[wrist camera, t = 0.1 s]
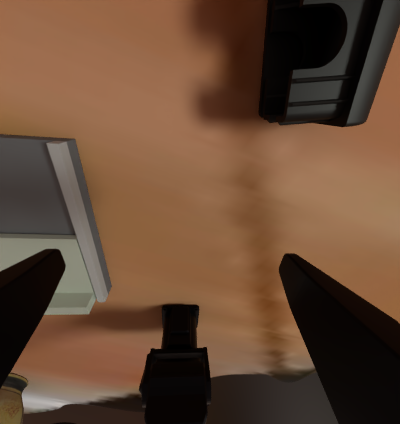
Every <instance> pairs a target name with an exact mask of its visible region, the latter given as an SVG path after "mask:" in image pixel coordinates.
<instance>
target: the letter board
mask: <svg viewBox="0 0 400 424" xmlns="http://www.w3.org/2000/svg"><path fill="white" fill-rule="evenodd" d="M0 234H44V235H76V236H77V239H78V242H79V245H80V248H81V252H82V255H83V258H84V261H85V264H86V267H87V270H88V273H89V276H90V279H91V282H92V285H93V289H94V292H95V295H96V298H97V301H98V302H105V301H106V299H107V296H108V294H109V291H110V289H111V287H112V286H111V282H110V278H109V274H108V270H107V266H106V262H105V258H104V254H103V250H102V246H101V241H100V237H99V233H98V229H97V225H96V221H95V217H94V213H93V209H92V205H91V201H90V197H89V193H88V189H87V185H86V181H85V177H84V173H83V169H82V165H81V161H80V157H79V153H78V149H77V145H76V141H75V139H67V138H51V137H35V136H19V135H3V134H0Z"/></svg>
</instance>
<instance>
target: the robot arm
mask: <svg viewBox="0 0 400 424" xmlns="http://www.w3.org/2000/svg"><path fill="white" fill-rule="evenodd" d="M65 268H66V264H65V261H64V259H63V256H62V254H61V251H60V250H59V249H44V250H42V251H40V252H38V253H36V254H34V255H32V256H30V257H28V258H26V259H24V260H22V261H20V262H18V263H16V264H14V265H12V266H10V267H8V268H6V269H4V270H2V271H0V389H1V387H2V386H3V384H4V382H5V380H6V379H7V377H8V375H9V374H10V372H11V370H12V368H13V367H14V365H15V363H16V362H17V360H18V358H19V356H20V355H21V353H22V351H23V350H24V348H25V346H26V344H27V343H28V341H29V339H30V338H31V336H32V334H33V332H34V331H35V329H36V327H37V326H38V324H39V322H40V320H41V319H42V317H43V315H44V313H45V312H46V310H47V308H48V306H49V304H50V302H51V300H52V298H53V295H54V293H55V291H56V289H57V287H58V285H59V282H60V280H61V278H62V276H63V274H64V272H65ZM279 274H280V277H281V280H282V284H283V287H284V290H285V293H286V297H287V300H288V303H289V306H290V309H291V311H292V314H293V316H294V319H295V321H296V323H297V326H298V328H299V330H300V333H301V335H302V338H303V340H304V342H305V345H306V347H307V350H308V352H309V354H310V357H311V359H312V361H313V364H314V366H315V369H316V371H317V373H318V376H319V378H320V381H321V383H322V385H323V388H324V390H325V392H326V395H327V397H328V400H329V402H330V404H331V407H332V409H333V411H334V414H335V416H336V419H337V421H338V423H339V424H400V324H399V323H398V321H396V320H395V319H393V318H392V317H390V316H389V315H387V314H386V313H384V312H383V311H381V310H380V309H378V308H377V307H375V306H374V305H372V304H371V303H369V302H367V301H366V300H364V299H363V298H361V297H360V296H358V295H357V294H355V293H354V292H352V291H351V290H349V289H348V288H346V287H345V286H343V285H342V284H340V283H339V282H337V281H336V280H334V279H333V278H331V277H330V276H328V275H327V274H325V273H324V272H322V271H321V270H319V269H318V268H316V267H315V266H313V265H312V264H310V263H309V262H307V261H306V260H304V259H303V258H301V257H300V256H298V255H297V254H293V253H286V254H285V255H284V256H283V259H282V261H281V264H280V266H279ZM198 316H199V306H197V305H195V306H163V307H162V322H163V337H162V346H161V349H155V348H152V349H151V351H150V353H149V354H148V355H147V359H146V365H145V369H144V373H143V376H142V379H141V383H140V386H139V391H140V393H141V395H142V407H146V408H145V417H144V418H145V424H205V423H206V418H207V404H210V403H211V380H210V370H209V362H208V353H207V347H203V348H197V331H196V328H197V325H198Z"/></svg>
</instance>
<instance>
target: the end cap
mask: <svg viewBox="0 0 400 424" xmlns="http://www.w3.org/2000/svg"><path fill="white" fill-rule="evenodd" d="M399 25H400V0H268V4H267V16H266V28H265V40H264V53H263V65H262V77H261V89H260V101H259V116H260V117H262V118H264V120H267V121H268V122H269V123H274V122H278V123H279V124H280V125H291V124H304V123H317V124H324V125H331V126H338V127H348V126H356V125H360V124H363V123H364V122H366V120H367V118H368V115H369V112H370V109H371V106H372V103H373V100H374V98H375V95H376V92H377V89H378V86H379V83H380V80H381V77H382V74H383V72H384V69H385V66H386V63H387V60H388V57H389V54H390V51H391V48H392V46H393V43H394V40H395V37H396V34H397V31H398V28H399Z"/></svg>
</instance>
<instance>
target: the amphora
mask: <svg viewBox="0 0 400 424" xmlns="http://www.w3.org/2000/svg"><path fill="white" fill-rule="evenodd" d="M27 385H28V381H27V380H26V379H25V378H23V377H21V376H19V375H16V374H11V373H10V374H9V375H8V377H7V379H6V380H5V382H4V384H3V386H2V387H1V389H0V424H22V421H23V411H24V408H23V402H22V392H23V390H24V388H25V387H26V386H27Z"/></svg>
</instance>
